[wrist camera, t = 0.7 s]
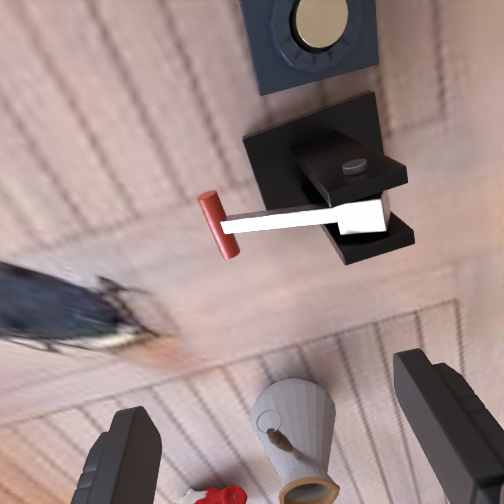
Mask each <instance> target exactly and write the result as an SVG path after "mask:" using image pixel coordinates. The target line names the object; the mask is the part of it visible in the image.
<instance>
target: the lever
mask: <svg viewBox="0 0 504 504" xmlns="http://www.w3.org/2000/svg"><path fill="white" fill-rule="evenodd" d="M197 200H198V202H199V204H200V207H201V209H202V211H203V213H204V216H205V218H206V220H207V223H208V225H209V227H210V229H211V232H212V234H213V236H214V239H215V241H216V243H217V246H218V248H219V250H220V252H221V255H222V257H223V258H224V259H230V258H233V257H235V256H237V255H238V254H239V253H240V248H239V246H238V243H237V241H236V239H235V236H234V234H233V233H239V232H249V231H259V230H268V229H278V228H288V227H298V226H308V225H318V224H327V223H337V222H338V226H339V230H340V234H341V235H346V234H358V233H370V232H382V231H387V228H388V223H389V218H390V205H389V198H388V192H387V190H385V191H382V192H379V193H376V194H373V195H370V196H367V197H364V198H361V199H358V200H355V201H352V202H349V203H346V204H343V205H340V206H337V207H334V208H331V207H330V206H329V205H328V203H319V204H312V205H305V206H297V207H290V208H282V209H275V210H267V211H260V212H252V213H245V214H237V215H230V216H226V214H225V211H224V209H223V206H222V204H221V201H220V199H219V196H218V194H217V191H215V190H211V191H208V192H205V193H203V194H201V195H200V196H198V198H197Z"/></svg>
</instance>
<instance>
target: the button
mask: <svg viewBox="0 0 504 504" xmlns="http://www.w3.org/2000/svg"><path fill="white" fill-rule="evenodd" d="M347 20H348V7H347V3H346V0H299V2H298V3H297V5H296V7H295V9H294V12H293V18H292V27H293V32H294V35H295V37H296V39H297V40H298V41H299V43H300V44H301V45H303V46H304V47H306V48H308V49H321V48H324V47H327V46H330V45H332V44H333V43H335V42H336V41H337V40H338V39H339V38H340V36H341V35H342V33H343V32H344V30H345V27H346V24H347Z"/></svg>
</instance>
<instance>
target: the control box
mask: <svg viewBox="0 0 504 504" xmlns="http://www.w3.org/2000/svg"><path fill="white" fill-rule="evenodd" d="M239 2H240V6H241V11H242V16H243V21H244V25H245V30H246V35H247V39H248V44H249V49H250V54H251V58H252V63H253V68H254V72H255V77H256V82H257V87H258V91H259V95H260V96H263V95H266V94H270V93H274V92H277V91H281V90H285V89H289V88H292V87H296V86H300V85H303V84H307V83H311V82H314V81H318V80H322V79H325V78H329V77H333V76H336V75H340V74H344V73H347V72H351V71H355V70H358V69H362V68H366V67H370V66H373V65H377V64H379V59H378V41H377V23H376V6H375V0H346V3H347V7H348V20H347V24H346V27H345V30H344V32H343V33H342V35H341V36H340V38H339V39H338V40H337V41H336V42H335V43H333V44H332V45H330V46H327V47H324V48H321V49H308V48H306V47H304V46H303V45H301V44H300V43H299V41H298V40H297V39H296V37H295V35H294V32H293V27H292V18H293V12H294V9H295V7H296V5H297V3H298V2H299V0H239Z"/></svg>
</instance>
